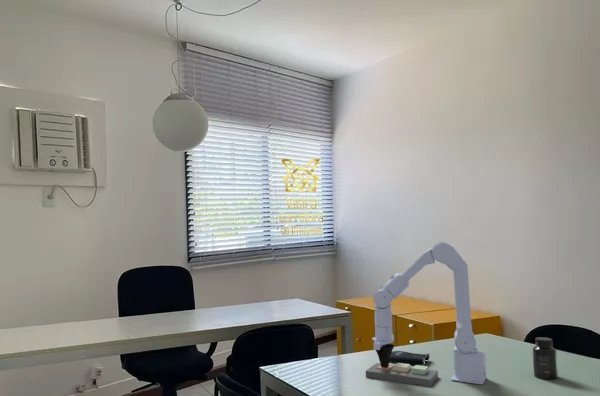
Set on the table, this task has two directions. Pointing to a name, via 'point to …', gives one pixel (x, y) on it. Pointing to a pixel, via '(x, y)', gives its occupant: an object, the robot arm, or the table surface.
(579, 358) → the table surface
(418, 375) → the keypad
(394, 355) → the electronic device
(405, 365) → the sand key
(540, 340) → the supplement bottle
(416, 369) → the sage key
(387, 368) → the terracotta key
